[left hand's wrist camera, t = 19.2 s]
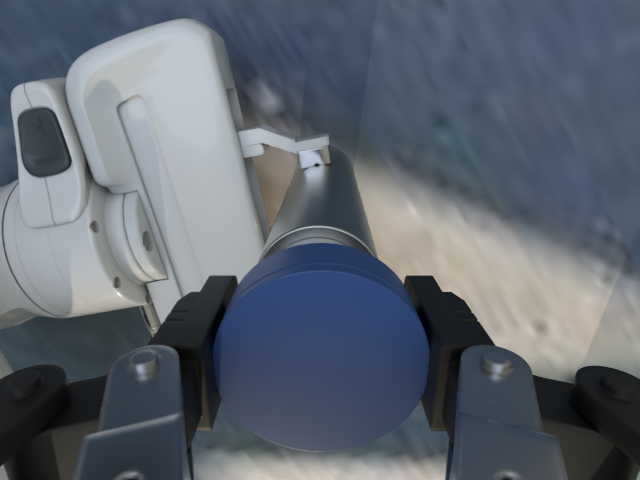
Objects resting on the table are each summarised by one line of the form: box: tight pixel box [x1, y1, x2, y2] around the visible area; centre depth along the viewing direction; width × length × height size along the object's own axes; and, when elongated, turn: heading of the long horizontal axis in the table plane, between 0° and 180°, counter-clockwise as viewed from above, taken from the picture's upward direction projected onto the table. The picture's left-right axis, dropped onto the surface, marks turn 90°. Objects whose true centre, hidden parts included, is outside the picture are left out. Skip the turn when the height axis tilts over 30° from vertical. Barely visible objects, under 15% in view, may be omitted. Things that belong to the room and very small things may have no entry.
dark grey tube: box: [258, 147, 378, 263], centre depth 21 cm, size 4×4×19 cm
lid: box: [213, 243, 430, 452], centre depth 10 cm, size 5×5×2 cm
